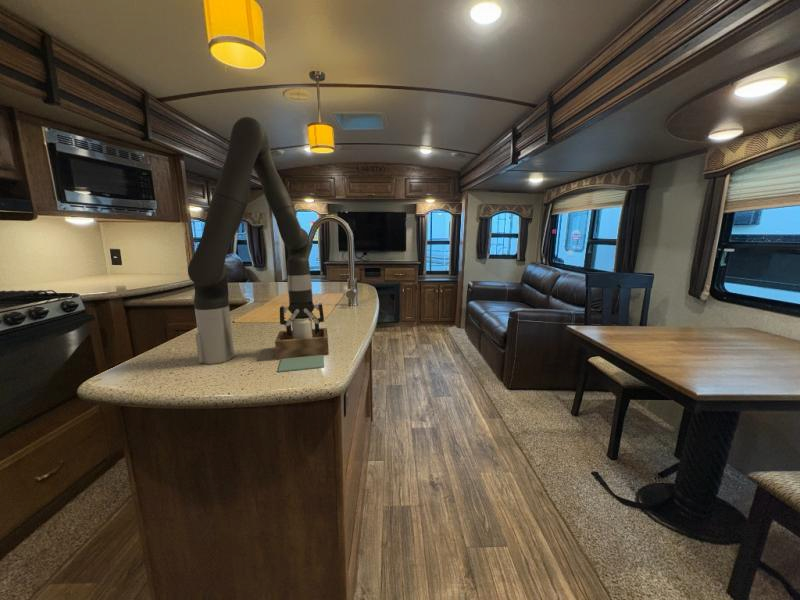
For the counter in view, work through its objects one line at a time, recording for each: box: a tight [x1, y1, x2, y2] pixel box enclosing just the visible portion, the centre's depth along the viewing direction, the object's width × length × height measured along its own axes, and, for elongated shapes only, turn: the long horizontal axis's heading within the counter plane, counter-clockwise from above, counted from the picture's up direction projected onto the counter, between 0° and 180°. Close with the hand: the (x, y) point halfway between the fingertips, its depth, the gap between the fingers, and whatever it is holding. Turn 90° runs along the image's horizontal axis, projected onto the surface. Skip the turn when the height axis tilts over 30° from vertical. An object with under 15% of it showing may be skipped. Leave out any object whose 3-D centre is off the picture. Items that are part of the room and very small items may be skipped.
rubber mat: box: [277, 355, 325, 373], centre depth 95 cm, size 13×10×1 cm
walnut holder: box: [274, 327, 330, 360], centre depth 106 cm, size 16×12×6 cm
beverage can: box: [291, 317, 313, 339], centre depth 105 cm, size 6×6×12 cm
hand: (303, 334), depth 106 cm, fingers open, 8 cm apart
